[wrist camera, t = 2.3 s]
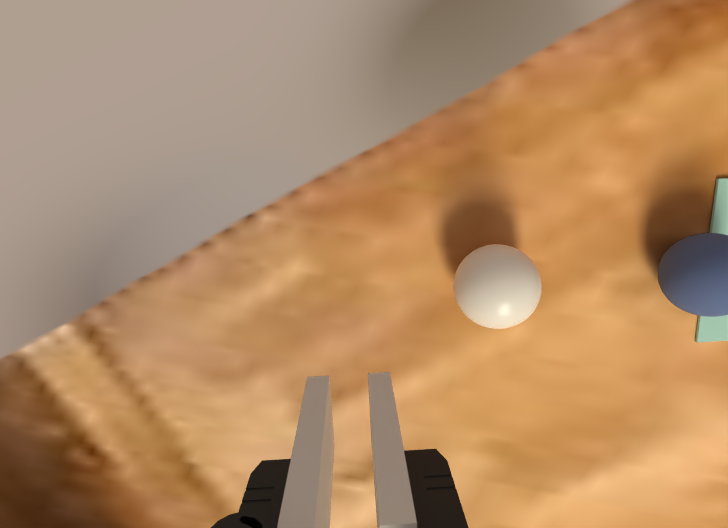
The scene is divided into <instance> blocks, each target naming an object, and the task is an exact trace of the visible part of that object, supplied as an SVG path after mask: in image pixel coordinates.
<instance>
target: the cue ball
mask: <svg viewBox="0 0 728 528" xmlns="http://www.w3.org/2000/svg"><path fill="white" fill-rule="evenodd" d="M453 286H454V295H455V299H456V301H457V303H458V305H459V307H460V309H461V310H462V312H463V313H464V314H465V315H466V316H467V317H468V318H469V319H471V320H472V321H473V322H475V323H477V324H479V325H481V326H484V327H488V328H494V329H503V328H509V327H512V326H515V325H517V324H519V323H521V322H523V321H524V320H526V319H527V318H528V317H529V316H530V315H531V314H532V313H533V311H534V310H535V309H536V307H537V305H538V303H539V300H540V296H541V290H542V283H541V278H540V274H539V271H538V269H537V267H536V266H535V264H534V263H533V261H532V260H531V259H530V258H529V257H528V256H527V255H526V254H525V253H523V252H522V251H520V250H518V249H516V248H514V247H511V246H508V245H502V244H492V245H486V246H483V247H480V248H478V249H476V250H474V251H472V252H471V253H470V254H468V255H467V256H466V257H465V258H464V259H463V260H462V262H461V263H460V265H459V266H458V268H457V271H456V273H455V277H454V285H453Z"/></svg>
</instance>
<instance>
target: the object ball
mask: <svg viewBox="0 0 728 528" xmlns="http://www.w3.org/2000/svg"><path fill="white" fill-rule="evenodd" d="M658 281H659V285H660V287H661V290H662V292H663V293H664V295H665V296H666V297H667V298H668V300H669V301H670V302H672V303H673V304H674V305H675V306H677V307H678V308H680V309H682V310H684V311H686V312H688V313H691V314H695V315H699V316H706V317H717V316H724V315H728V235H725V234H719V233H701V234H696V235H692V236H689V237H686V238H684V239H682V240H680V241H678V242H676V243H675V244H674V245H672V246H671V247H670V248H669V249H668V250H667V251H666V252H665V254H664V255H663V257H662V259H661V261H660V263H659V267H658Z"/></svg>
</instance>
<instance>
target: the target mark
mask: <svg viewBox="0 0 728 528" xmlns="http://www.w3.org/2000/svg"><path fill="white" fill-rule="evenodd" d="M709 233H719V234H725V235H728V178H721V179H716V187H715V194H714V202H713V209H712V217H711V224H710V232H709ZM695 341H696V342H711V341H728V315H724V316H717V317H706V316H699V315H698V323H697V330H696V338H695Z"/></svg>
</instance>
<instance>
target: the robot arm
mask: <svg viewBox="0 0 728 528" xmlns="http://www.w3.org/2000/svg"><path fill="white" fill-rule="evenodd" d="M368 384H369V403H370V423H371V442H372V457H373V471H374V485H375V499H376V513H377V527H378V528H468V525H467V522H466V519H465V516H464V512H463V509H462V506H461V503H460V500H459V497H458V493H457V490H456V489H455V484H454V481H453V478H452V475H451V471H450V468H449V465H448V462H447V460H446V459H445V458H444V457H443V456H442V455H441V454H440V453H439V452H438V451H437V449H425V450H409V451H404V448H403V443H402V437H401V432H400V426H399V421H398V415H397V409H396V404H395V398H394V393H393V387H392V382H391V376H390V372H384V373H368ZM333 460H334V432H333V419H332V405H331V391H330V378H329V376H314V377H307V382H306V387H305V392H304V397H303V401H302V406H301V411H300V416H299V421H298V426H297V431H296V436H295V441H294V446H293V451H292V456H291V459H282V460H265V461H261V463H260V464H259V465H258V466H257V467H256V468H255V470H254V471H253V472H252V473H251V475H250V478H249V481H248V484H247V487H246V491H245V493H244V497H243V500H242V504H241V506H240V509H239V512H238V513H235V514H231V515H228V516H226V517H225V518H223V519H221V520H219V521H217V522H216V523H215V524H214V525H213V526H212V527H211V528H329V527H330V510H331V493H332V477H333Z"/></svg>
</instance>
